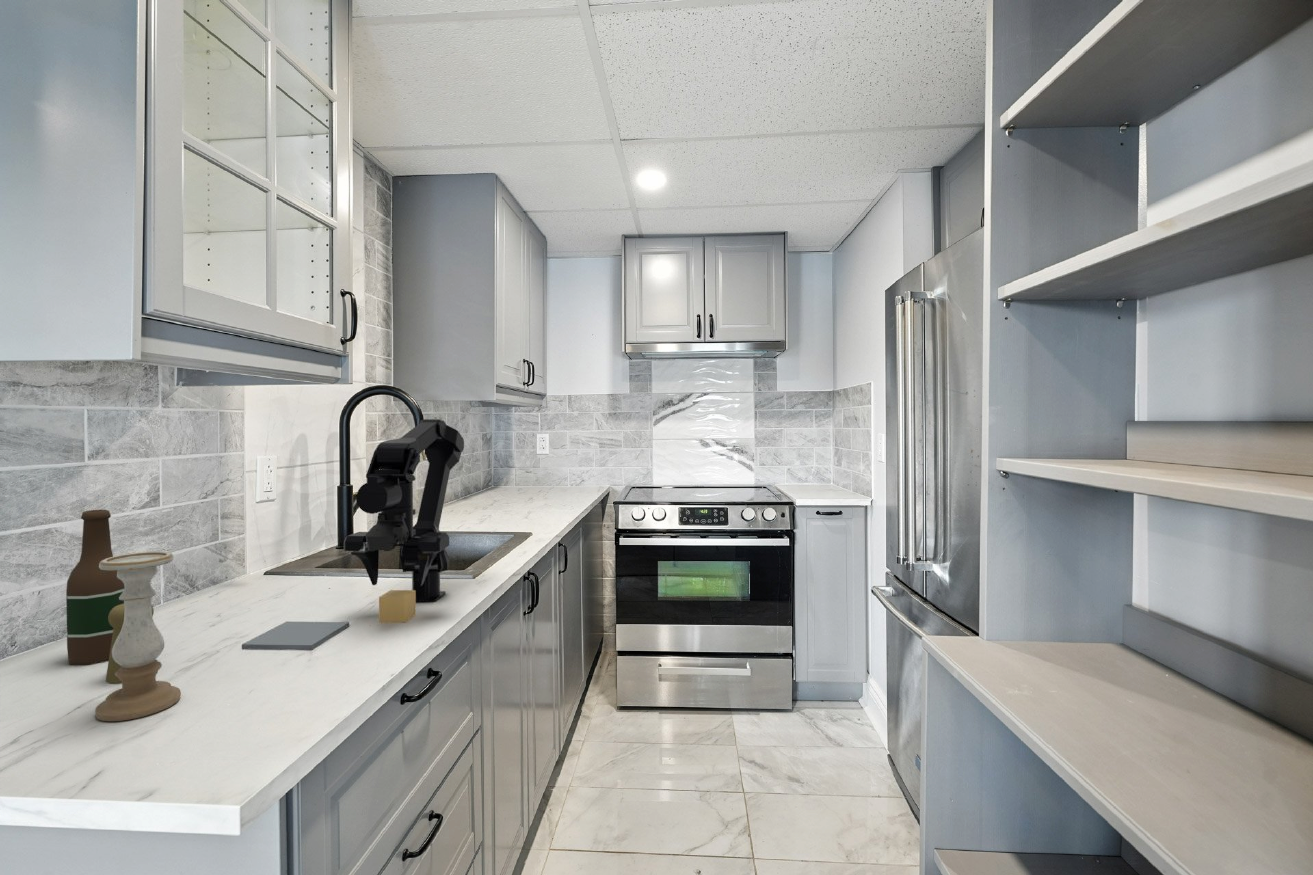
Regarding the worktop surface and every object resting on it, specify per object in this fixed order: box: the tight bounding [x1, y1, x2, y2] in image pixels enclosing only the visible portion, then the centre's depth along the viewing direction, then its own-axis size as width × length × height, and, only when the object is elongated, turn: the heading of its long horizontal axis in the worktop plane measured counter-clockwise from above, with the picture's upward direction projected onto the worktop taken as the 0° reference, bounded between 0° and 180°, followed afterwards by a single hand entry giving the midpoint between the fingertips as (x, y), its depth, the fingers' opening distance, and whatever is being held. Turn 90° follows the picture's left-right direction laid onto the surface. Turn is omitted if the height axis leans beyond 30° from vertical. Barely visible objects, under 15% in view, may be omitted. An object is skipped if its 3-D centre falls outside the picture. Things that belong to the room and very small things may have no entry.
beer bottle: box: [65, 509, 125, 666], centre depth 99 cm, size 8×8×24 cm
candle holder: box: [94, 551, 182, 722], centre depth 82 cm, size 9×9×20 cm
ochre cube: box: [378, 589, 417, 624], centre depth 119 cm, size 5×5×5 cm
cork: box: [105, 604, 155, 685], centre depth 92 cm, size 6×6×11 cm
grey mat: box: [241, 620, 350, 651], centre depth 109 cm, size 12×12×1 cm
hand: (397, 584), depth 119 cm, fingers open, 9 cm apart
